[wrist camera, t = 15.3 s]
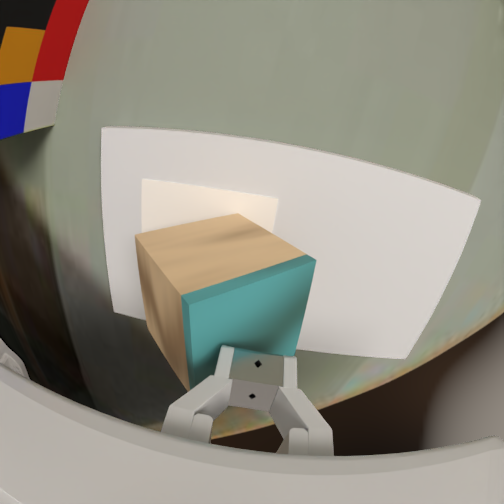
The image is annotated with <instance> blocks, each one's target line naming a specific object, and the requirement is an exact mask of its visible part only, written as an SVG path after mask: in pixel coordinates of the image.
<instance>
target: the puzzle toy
mask: <svg viewBox="0 0 504 504" xmlns="http://www.w3.org/2000/svg"><path fill="white" fill-rule="evenodd" d="M88 1H89V0H0V140H2V139H5V138H8V137H12V136H15V135H18V134H22V133H25V132H29V131H33V130H37V129H40V128H44V127H49V126H53V125H55V119H56V113H57V107H58V102H59V97H60V93H61V88H62V84H63V79H64V75H65V71H66V67H67V64H68V60H69V56H70V53H71V50H72V46H73V43H74V40H75V37H76V34H77V31H78V28H79V25H80V22H81V19H82V17H83V14H84V11H85V9H86V6H87V4H88Z"/></svg>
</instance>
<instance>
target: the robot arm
mask: <svg viewBox="0 0 504 504" xmlns="http://www.w3.org/2000/svg"><path fill="white" fill-rule="evenodd" d="M234 349H235V350H234ZM228 405H230V406H236V407H244V408H250V409H256V410H262V411H269V413H270V415H271V417H272V419H273V420H274V422H275V424H276V426H277V428H278V429H279V431H280V433H281V435H282V436H283V438H284V441H283V442H282V444H281V446H280V447H279V449H278V451H277V452H276V453H268V452H259V451H252V450H244V449H238V448H231V447H226V446H219V445H214V444H210V442H211V433H212V424H213V421H214V420H215V419H216V418H217V417H218V416H219V415H220V414H221V413H222V412H223V411H224V410H225V409H226V408H227V407H228ZM0 504H504V440H502V439H501V438H500V437H498V436H489V437H485V438H482V439H478V440H474V441H469V442H465V443H461V444H456V445H451V446H446V447H440V448H434V449H428V450H421V451H414V452H405V453H396V454H384V455H370V456H369V455H368V456H334V452H333V437H332V429H331V428H330V427H329V425H328V424H327V423H326V421H325V420H324V419H323V418H322V416H321V415H320V414H319V412H318V411H317V410H316V408H315V407H314V406H313V404H312V403H311V402H310V401H309V399H308V398H307V397H306V395H305V394H304V393H303V391H302V390H301V389H297V358H296V357H293V356H286V355H279V354H271V353H264V352H257V351H251V350H246V349H241V348H236V347H230V346H225V345H222V346H221V349H220V353H219V358H218V362H217V366H216V370H215V374H214V376H213V375H210V376H209V377H207V378H206V379H205V380H203V381H202V382H201V383H199V384H198V385H197V386H195V387H194V388H193V389H191V390H190V391H189V392H187V393H186V394H185V395H183V396H182V397H181V398H179V399H178V400H176V401H175V402H174V403H172V404H171V405H170V406H169V409H168V412H167V415H166V418H165V420H164V423H163V426H162V429H161V432H159V431H155V430H152V429H149V428H145V427H142V426H139V425H136V424H133V423H130V422H127V421H124V420H121V419H118V418H115V417H112V416H109V415H107V414H104V413H102V412H99V411H96V410H94V409H91V408H89V407H86V406H84V405H82V404H79V403H77V402H75V401H72V400H70V399H68V398H66V397H64V396H61V395H59V394H57V393H55V392H53V391H51V390H49V389H47V388H45V387H43V386H41V385H39V384H37V383H35V382H33V381H31V380H30V378H29V376H28V373H27V371H26V368H25V365H24V363H23V361H22V360H21V359H20V358H19V357H18V356H17V355H16V354H15V353H14V352H13V351H12V350H11V349H10V348H8V347H7V345H6V344H5V343H4V342H3V341H2V339H1V338H0Z"/></svg>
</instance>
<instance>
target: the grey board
mask: <svg viewBox="0 0 504 504" xmlns="http://www.w3.org/2000/svg"><path fill="white" fill-rule="evenodd" d="M101 192H102V213H103V228H104V240H105V251H106V260H107V268H108V276H109V284H110V291H111V297H112V303H113V309H114V312H116V313H120V314H124V315H127V316H131V317H135V318H139V319H143V320H146V316H145V310H144V304H143V298H142V291H141V285H140V277H139V270H138V262H137V253H136V244H135V234H140V233H144V232H149V231H153V230H158V229H162V228H167V227H172V226H177V225H181V224H186V223H191V222H196V221H201V220H206V219H211V218H216V217H221V216H226V215H231V214H237V213H238V214H240V215H242V216H244V217H245V218H247V219H249V220H250V221H252V222H254V223H255V224H257V225H259V226H261V227H262V228H264V229H266V230H267V231H269V232H271V233H272V234H274V235H276V236H277V237H279V238H281V239H282V240H284V241H286V242H287V243H289V244H291V245H292V246H294V247H296V248H297V249H299V250H301V251H302V252H304V253H306V254H307V255H309V256H311V257H312V258H314V259H316V260H317V261H316V265H315V270H314V275H313V280H312V284H311V289H310V293H309V297H308V302H307V306H306V310H305V315H304V319H303V323H302V327H301V331H300V335H299V339H298V343H297V347H296V349H300V350H308V351H316V352H324V353H333V354H343V355H354V356H366V357H379V358H394V359H406V357H407V356H408V354H409V352H410V351H411V349H412V348H413V346H414V344H415V343H416V341H417V339H418V338H419V336H420V334H421V333H422V331H423V329H424V328H425V326H426V324H427V322H428V321H429V319H430V317H431V315H432V313H433V311H434V310H435V308H436V306H437V304H438V302H439V300H440V298H441V296H442V294H443V292H444V290H445V288H446V286H447V284H448V282H449V280H450V278H451V276H452V273H453V271H454V269H455V267H456V265H457V262H458V260H459V258H460V255H461V253H462V251H463V248H464V246H465V243H466V241H467V238H468V236H469V233H470V231H471V228H472V225H473V223H474V220H475V217H476V214H477V211H478V208H479V205H480V202H481V200H480V199H479V198H477V197H475V196H474V195H471V194H469V193H466V192H464V191H461V190H458V189H455V188H453V187H450V186H447V185H444V184H441V183H439V182H436V181H433V180H430V179H427V178H424V177H420V176H417V175H414V174H411V173H408V172H404V171H401V170H398V169H394V168H391V167H387V166H384V165H380V164H376V163H373V162H369V161H365V160H361V159H357V158H353V157H349V156H345V155H341V154H337V153H332V152H328V151H323V150H318V149H314V148H309V147H304V146H299V145H293V144H288V143H282V142H277V141H271V140H265V139H258V138H252V137H245V136H238V135H230V134H222V133H214V132H204V131H194V130H183V129H171V128H155V127H134V126H107V127H103V128H102V136H101Z"/></svg>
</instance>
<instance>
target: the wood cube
mask: <svg viewBox="0 0 504 504" xmlns="http://www.w3.org/2000/svg"><path fill="white" fill-rule="evenodd" d="M135 244H136V253H137V262H138V270H139V277H140V285H141V291H142V298H143V304H144V310H145V316H146V322H147V327H148V330H149V332H150V333H151V335H152V337H153V338H154V340H155V342H156V343H157V345H158V347H159V348H160V350H161V351H162V353H163V355H164V356H165V358H166V359H167V361H168V363H169V364H170V366H171V367H172V369H173V370H174V372H175V373H176V375H177V376H178V378H179V379H180V381H181V382H182V384H183V385H184V387H185V388H186V390H187V391H188V392H189V391H190V390H191V389H193V388H194V387H195V386H197V385H198V384H199V383H201V382H202V381H203V380H205V379H206V378H207V377H209V376H210V375H213V376H214V374H215V370H216V366H217V362H218V358H219V353H220V349H221V346H222V345H225V346H230V347H236V348H241V349H246V350H251V351H257V352H264V353H271V354H279V355H286V356H294V355H295V351H296V347H297V343H298V339H299V335H300V331H301V327H302V323H303V319H304V315H305V310H306V306H307V302H308V297H309V293H310V289H311V284H312V280H313V275H314V270H315V265H316V261H317V260H316V259H314V258H312V257H311V256H309V255H307V254H306V253H304V252H302V251H301V250H299V249H297V248H296V247H294V246H292V245H291V244H289V243H287V242H286V241H284V240H282V239H281V238H279V237H277V236H276V235H274V234H272V233H271V232H269V231H267V230H266V229H264V228H262V227H261V226H259V225H257V224H255V223H254V222H252V221H250V220H249V219H247V218H245V217H244V216H242V215H240V214H238V213H237V214H231V215H226V216H221V217H216V218H211V219H206V220H201V221H196V222H191V223H186V224H181V225H177V226H172V227H167V228H162V229H158V230H153V231H149V232H144V233H140V234H135ZM234 350H235V349H234Z"/></svg>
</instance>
